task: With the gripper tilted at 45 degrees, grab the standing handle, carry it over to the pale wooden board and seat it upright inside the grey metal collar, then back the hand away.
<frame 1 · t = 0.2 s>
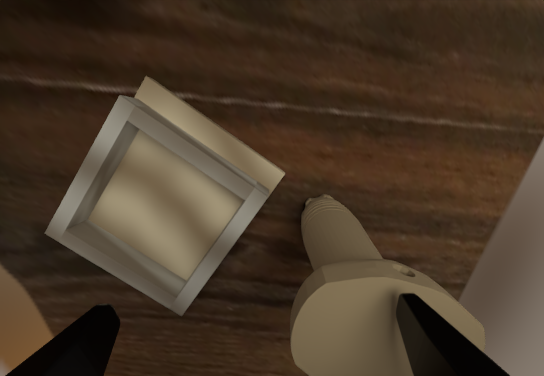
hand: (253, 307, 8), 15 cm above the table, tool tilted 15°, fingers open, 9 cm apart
handle: (319, 210, 24), on the table
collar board: (171, 203, 24), on the table
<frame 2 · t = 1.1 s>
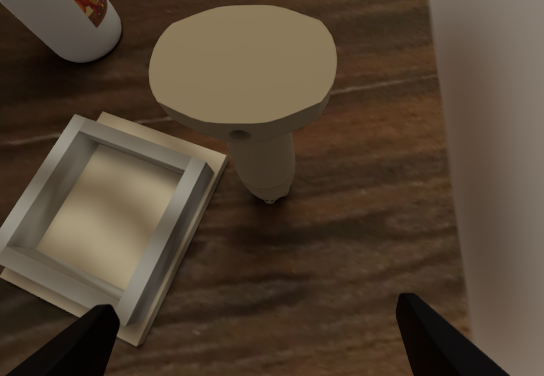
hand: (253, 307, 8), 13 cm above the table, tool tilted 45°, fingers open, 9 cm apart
handle: (271, 187, 24), on the table
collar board: (124, 215, 24), on the table
milk bottle: (91, 37, 30), on the table
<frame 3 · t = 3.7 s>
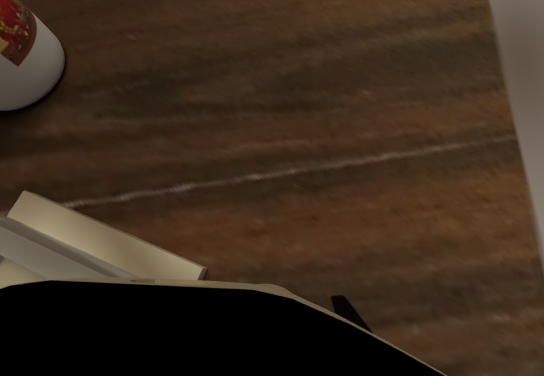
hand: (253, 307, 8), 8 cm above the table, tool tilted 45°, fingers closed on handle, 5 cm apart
handle: (271, 315, 16), on the table, touching gripper
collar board: (46, 360, 15), on the table
milk bottle: (24, 73, 22), on the table
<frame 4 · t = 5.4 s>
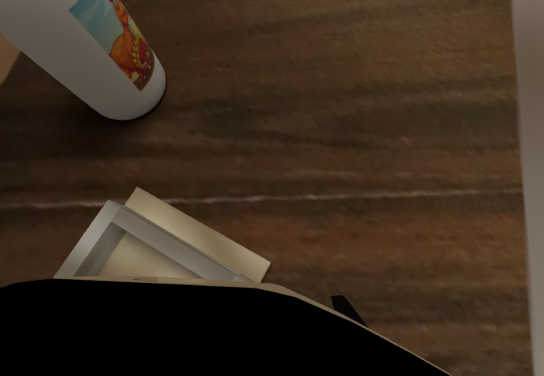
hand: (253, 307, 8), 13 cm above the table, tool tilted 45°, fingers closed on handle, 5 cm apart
handle: (271, 314, 16), point 6 cm above the table, touching gripper
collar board: (149, 314, 21), on the table
milk bottle: (131, 89, 27), on the table
when the fingers open (10 cm above the table, at t = 7.4 s): handle drops 1 cm, resting on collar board.
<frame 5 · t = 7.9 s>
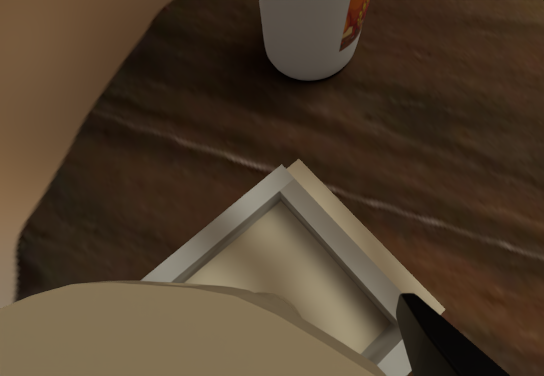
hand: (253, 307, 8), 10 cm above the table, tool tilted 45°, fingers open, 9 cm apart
handle: (273, 322, 17), point 1 cm above the table, touching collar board
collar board: (273, 309, 18), on the table
milk bottle: (309, 48, 24), on the table
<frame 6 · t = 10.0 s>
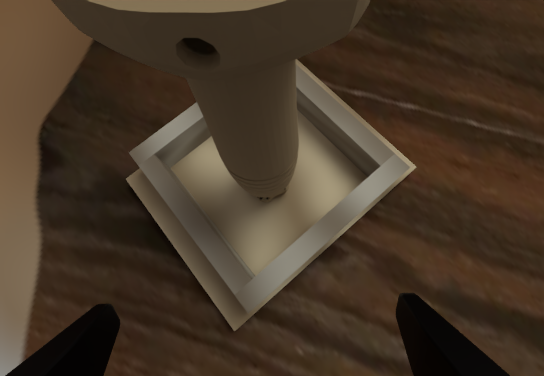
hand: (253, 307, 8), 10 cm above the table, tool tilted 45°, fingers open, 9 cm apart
handle: (267, 181, 19), point 1 cm above the table, touching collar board
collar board: (267, 177, 20), on the table
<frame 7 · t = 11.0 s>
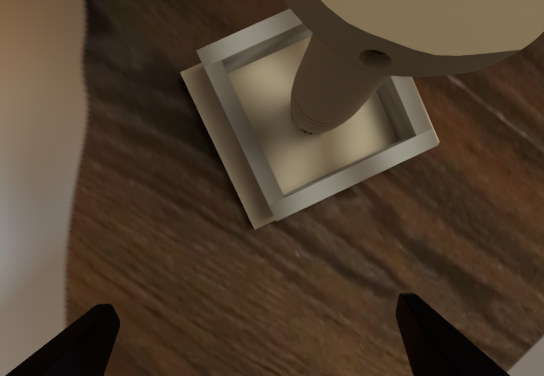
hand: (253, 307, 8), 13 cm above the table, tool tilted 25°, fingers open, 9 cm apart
handle: (311, 116, 21), point 1 cm above the table, touching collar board
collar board: (311, 111, 22), on the table
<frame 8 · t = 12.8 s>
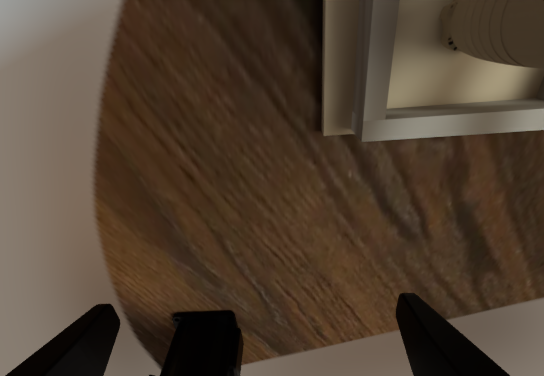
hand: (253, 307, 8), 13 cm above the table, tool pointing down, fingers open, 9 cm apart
handle: (463, 20, 15), point 1 cm above the table, touching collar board
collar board: (463, 11, 16), on the table
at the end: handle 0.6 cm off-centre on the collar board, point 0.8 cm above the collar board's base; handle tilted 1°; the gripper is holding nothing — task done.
